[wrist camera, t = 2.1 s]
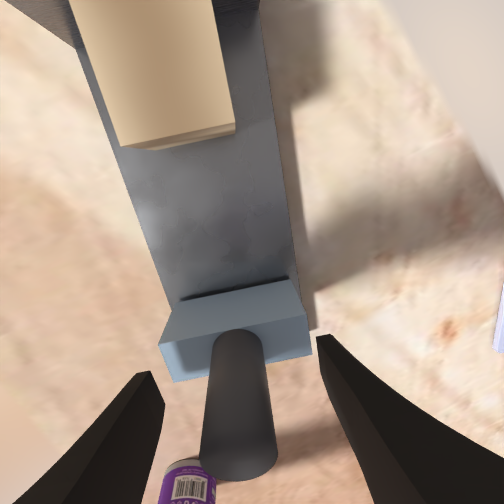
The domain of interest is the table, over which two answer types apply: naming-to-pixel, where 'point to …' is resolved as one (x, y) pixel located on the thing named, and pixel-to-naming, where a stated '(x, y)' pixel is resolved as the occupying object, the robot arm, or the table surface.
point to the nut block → (158, 69)
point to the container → (187, 484)
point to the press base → (206, 171)
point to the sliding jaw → (236, 369)
